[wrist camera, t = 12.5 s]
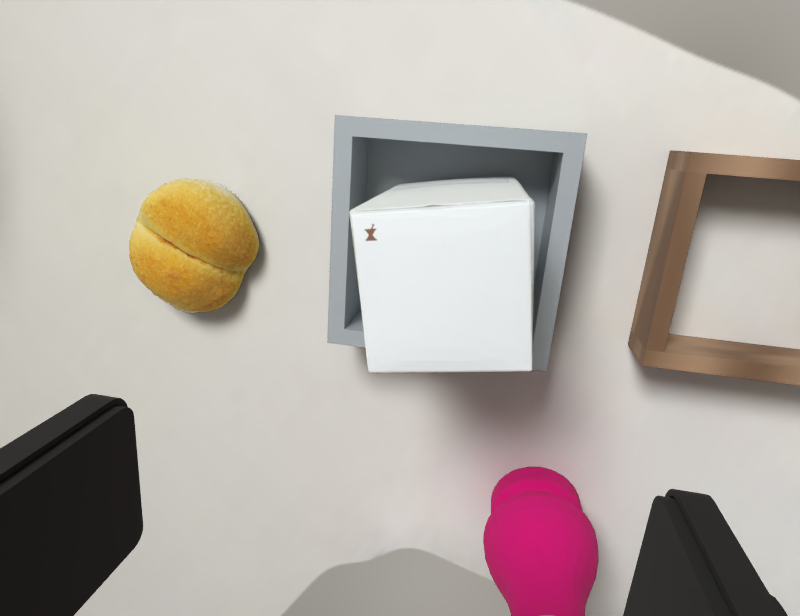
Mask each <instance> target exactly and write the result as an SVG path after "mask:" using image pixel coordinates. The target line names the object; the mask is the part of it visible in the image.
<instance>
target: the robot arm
mask: <svg viewBox="0 0 800 616" xmlns="http://www.w3.org/2000/svg"><path fill="white" fill-rule="evenodd" d="M142 531H143V519H142V507H141V495H140V483H139V471H138V459H137V447H136V435H135V423H134V414H133V411H132V410H131V409H130V408H128V407H127V404H126V402H125V401H124V400H123V399H121V398H115V397H109V396H103V395H97V394H90V395H87V396H85V397H84V398H82V399H80V400H79V401H77V402H75V403H74V404H72V405H71V406H69V407H67V408H66V409H64V410H62V411H61V412H59V413H58V414H56V415H54V416H53V417H51V418H49V419H48V420H46V421H45V422H43V423H41V424H40V425H38V426H36V427H35V428H33V429H31V430H30V431H28V432H27V433H25V434H23V435H22V436H20V437H18V438H17V439H15V440H14V441H12V442H10V443H9V444H7V445H5V446H4V447H2V448H1V449H0V616H74V615H75V613H76V612H77V611H78V610H79V609H80V608H81V607H82V606H83V605H84V603H85V602H86V601H87V600H88V599H89V598H90V597H91V596H92V595H93V593H94V592H95V591H96V590H97V589H98V588H99V587H100V586H101V585H102V583H103V582H104V581H105V580H106V579H107V578H108V577H109V576H110V575H111V573H112V572H113V571H114V570H115V569H116V568H117V567H118V566H119V565H120V563H121V562H122V561H123V560H124V559H125V558H126V557H127V556H128V555H129V553H130V552H131V551H132V550H133V549H134V548H135V546H136V545H137V544H138V542H139V540H140V537H141V535H142ZM623 616H788V615H787V614H786V612H785V611H784V609H783V607H782V606H781V605H780V603H779V602H778V601H777V599H776V598H775V597H773V596H772V595H770V594H769V592H768V591H767V589H766V587H765V586H764V584H763V582H762V581H761V579H760V577H759V576H758V574H757V572H756V571H755V569H754V567H753V566H752V564H751V562H750V561H749V559H748V557H747V555H746V554H745V552H744V550H743V549H742V547H741V545H740V544H739V542H738V540H737V539H736V537H735V535H734V534H733V532H732V530H731V529H730V527H729V525H728V524H727V522H726V520H725V519H724V517H723V515H722V513H721V512H720V510H719V508H718V507H717V505H716V503H715V502H714V500H713V499H712V498H711V496H709V495H706V494H700V493H694V492H688V491H682V490H676V489H670V490H668V492H667V493H666V495H665V497H663V496H656V497H655V499H654V501H653V504H652V507H651V511H650V515H649V519H648V523H647V526H646V530H645V534H644V538H643V542H642V546H641V549H640V553H639V557H638V561H637V565H636V569H635V572H634V576H633V580H632V584H631V588H630V591H629V595H628V599H627V603H626V607H625V611H624V614H623Z"/></svg>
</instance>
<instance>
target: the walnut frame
mask: <svg viewBox="0 0 800 616" xmlns="http://www.w3.org/2000/svg"><path fill="white" fill-rule="evenodd" d="M707 174H718V175H731V176H743V177H756V178H768V179H780V180H793V181H800V160H790V159H777V158H764V157H751V156H737V155H724V154H711V153H698V152H684V151H670V153H669V158H668V163H667V167H666V172H665V176H664V181H663V185H662V190H661V195H660V199H659V204H658V208H657V213H656V218H655V222H654V227H653V231H652V236H651V241H650V245H649V250H648V254H647V259H646V264H645V268H644V273H643V277H642V282H641V286H640V291H639V296H638V300H637V305H636V309H635V314H634V319H633V323H632V328H631V332H630V337H629V342H628V345H629V347H630V348H631V350H632V351H633V353H634V354H635V356H636V357H637V359H638V360H639V362H640V363H641V365H642V366H648V367H656V368H664V369H672V370H680V371H688V372H696V373H704V374H712V375H720V376H728V377H735V378H743V379H751V380H759V381H767V382H775V383H783V384H791V385H799V386H800V350H799V349H791V348H782V347H774V346H765V345H757V344H748V343H740V342H731V341H723V340H715V339H706V338H698V337H689V336H681V335H672V334H668V333H669V328H670V324H671V320H672V316H673V312H674V308H675V304H676V299H677V295H678V291H679V287H680V283H681V279H682V275H683V270H684V266H685V262H686V258H687V254H688V250H689V246H690V241H691V237H692V233H693V229H694V225H695V221H696V217H697V212H698V208H699V204H700V200H701V196H702V192H703V187H704V183H705V179H706V175H707Z"/></svg>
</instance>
